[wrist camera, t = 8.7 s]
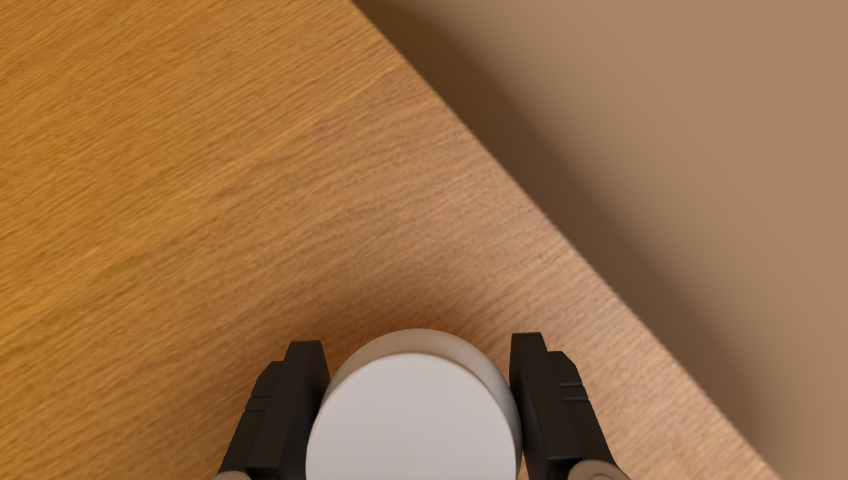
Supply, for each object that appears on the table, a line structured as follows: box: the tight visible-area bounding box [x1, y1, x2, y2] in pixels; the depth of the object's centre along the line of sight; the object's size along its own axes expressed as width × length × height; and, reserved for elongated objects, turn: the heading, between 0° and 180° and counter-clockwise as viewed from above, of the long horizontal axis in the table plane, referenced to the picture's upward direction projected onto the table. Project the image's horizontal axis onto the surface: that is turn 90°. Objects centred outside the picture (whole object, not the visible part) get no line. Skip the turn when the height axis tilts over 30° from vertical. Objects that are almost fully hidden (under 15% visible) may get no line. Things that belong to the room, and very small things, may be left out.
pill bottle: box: [306, 328, 523, 480], centre depth 12 cm, size 5×5×9 cm
